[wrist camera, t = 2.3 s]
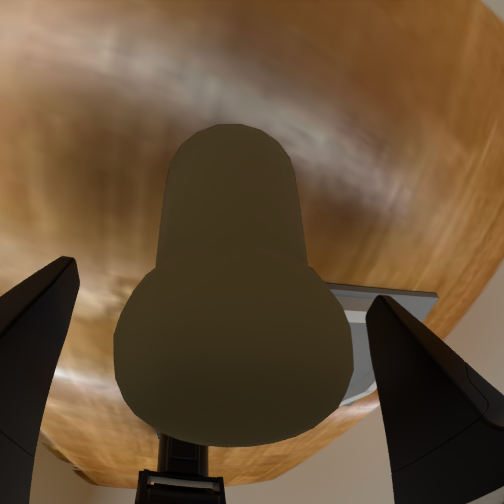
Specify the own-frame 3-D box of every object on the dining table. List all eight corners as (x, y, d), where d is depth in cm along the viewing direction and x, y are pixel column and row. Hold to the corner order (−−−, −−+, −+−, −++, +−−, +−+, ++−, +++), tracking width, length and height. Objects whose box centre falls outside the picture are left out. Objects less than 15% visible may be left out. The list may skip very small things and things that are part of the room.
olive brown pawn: (318, 159, 13) (453, 367, 4) (258, 256, 16) (285, 470, 7) (196, 102, 11) (78, 264, 2) (150, 215, 14) (77, 435, 6)
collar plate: (350, 401, 28) (353, 414, 27) (196, 400, 26) (196, 416, 24) (436, 293, 19) (446, 309, 18) (215, 270, 17) (214, 291, 15)
